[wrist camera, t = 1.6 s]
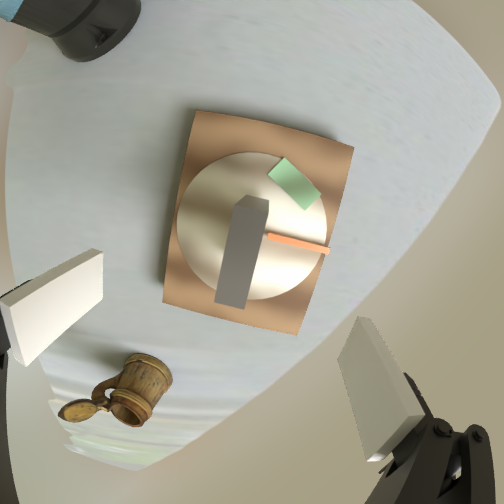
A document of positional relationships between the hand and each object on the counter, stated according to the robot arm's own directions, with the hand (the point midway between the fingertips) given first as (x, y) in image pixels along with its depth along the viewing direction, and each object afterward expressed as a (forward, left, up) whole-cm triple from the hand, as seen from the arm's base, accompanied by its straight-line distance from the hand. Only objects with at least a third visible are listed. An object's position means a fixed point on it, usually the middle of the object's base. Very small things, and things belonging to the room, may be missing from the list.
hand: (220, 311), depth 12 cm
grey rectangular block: (0, +4, -18) cm, 19 cm away
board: (0, 0, -22) cm, 23 cm away
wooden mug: (+30, -14, -23) cm, 40 cm away
